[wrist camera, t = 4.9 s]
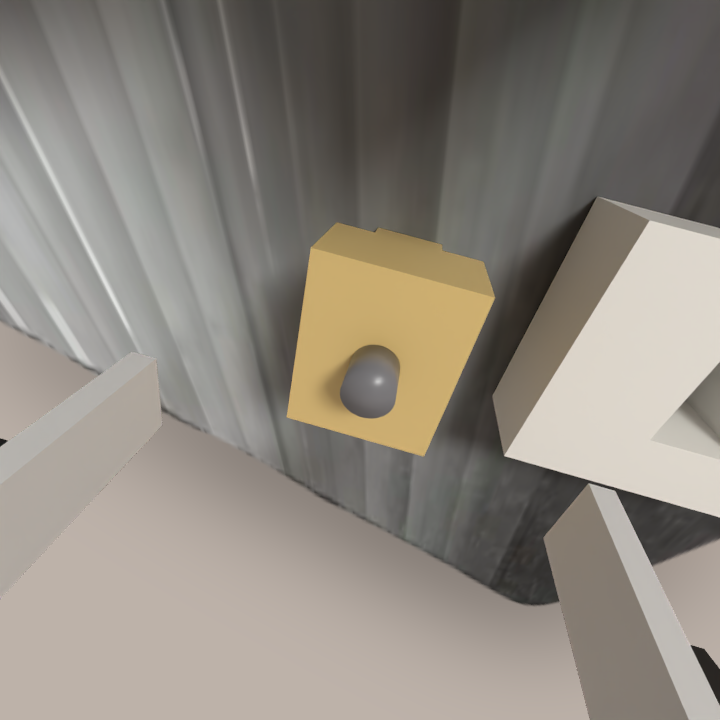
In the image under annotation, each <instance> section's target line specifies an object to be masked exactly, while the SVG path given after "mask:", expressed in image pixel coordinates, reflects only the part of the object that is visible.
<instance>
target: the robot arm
mask: <svg viewBox="0 0 720 720" xmlns="http://www.w3.org/2000/svg"><path fill="white" fill-rule="evenodd" d="M161 427H162V415H161V404H160V394H159V383H158V372H157V362H156V358H153V357H149V356H146V355H142V354H139V353H135V352H131V353H129V354H128V355H127V356H125V357H124V358H123V359H121V360H120V361H118V362H117V363H116V364H114V365H113V366H111V367H110V368H109V369H107V370H106V371H105V372H103V373H102V374H100V375H99V376H98V377H96V378H95V379H93V380H92V381H91V382H89V383H88V384H87V385H85V386H84V387H83V388H81V389H80V390H78V391H77V392H75V393H74V394H73V395H71V396H70V397H69V398H67V399H66V400H65V401H63V402H62V403H60V404H59V405H57V406H56V407H55V408H53V409H52V410H51V411H49V412H48V413H46V414H45V415H44V416H42V417H41V418H40V419H38V420H37V421H35V422H34V423H33V424H32V425H30V426H28V427H27V428H26V429H24V430H23V431H21V432H20V433H19V434H17V435H16V436H15V437H13V438H12V439H11V440H9V441H7V440H4V439H0V599H1V597H2V596H3V595H4V594H5V593H6V592H7V591H8V590H9V589H10V588H11V587H12V586H13V585H14V584H15V583H16V581H17V580H18V579H19V578H20V577H21V576H22V575H23V574H24V573H25V572H26V571H27V570H28V569H29V568H30V567H31V566H32V564H33V563H34V562H35V561H36V560H37V559H38V558H39V557H40V556H41V555H42V554H43V553H44V552H45V551H46V549H47V548H48V547H49V546H50V545H51V544H52V543H53V542H54V541H55V540H56V539H57V538H58V537H59V536H60V535H61V533H62V532H63V531H64V530H65V529H66V528H67V527H68V526H69V525H70V524H71V523H72V522H73V521H74V520H75V518H76V517H77V516H78V515H79V514H80V513H81V512H82V511H83V510H84V509H85V508H86V506H88V505H89V503H90V502H91V501H92V500H93V499H94V498H95V497H96V496H97V495H98V494H99V493H100V492H101V491H102V490H103V489H104V487H105V486H106V485H107V484H108V483H109V482H110V481H111V480H112V479H113V478H114V477H115V476H116V475H117V474H118V472H119V471H120V470H121V469H122V468H123V467H124V466H125V465H126V464H127V463H128V462H129V461H130V460H131V459H132V457H133V456H134V455H135V454H136V453H137V452H138V451H139V450H140V449H141V448H142V447H143V446H144V445H145V444H146V443H147V441H148V440H149V439H150V438H151V437H152V436H153V435H154V434H155V433H156V432H157V431H158V430H159V429H160V428H161ZM544 542H545V546H546V550H547V554H548V558H549V562H550V566H551V570H552V573H553V577H554V581H555V585H556V589H557V593H558V597H559V601H560V605H561V609H562V613H563V616H564V620H565V624H566V628H567V632H568V636H569V639H570V644H571V648H572V651H573V656H574V659H575V663H576V667H577V671H578V675H579V679H580V683H581V687H582V691H583V695H584V698H585V703H586V706H587V710H588V714H589V718H590V720H720V669H719V668H718V666H717V665H716V664H715V663H714V661H713V660H712V659H711V657H710V656H709V655H708V653H707V652H706V651H705V649H702V648H699V647H695V646H692V645H690V644H689V642H688V640H687V637H686V636H685V633H684V632H683V629H682V627H681V625H680V623H679V621H678V619H677V617H676V615H675V613H674V611H673V609H672V607H671V605H670V603H669V601H668V599H667V597H666V595H665V592H664V590H663V588H662V586H661V584H660V582H659V580H658V578H657V576H656V574H655V572H654V570H653V568H652V566H651V564H650V562H649V560H648V557H647V555H646V553H645V551H644V549H643V547H642V545H641V543H640V541H639V539H638V537H637V535H636V533H635V531H634V529H633V527H632V525H631V523H630V521H629V518H628V516H627V514H626V512H625V510H624V508H623V506H622V504H621V502H620V500H619V498H618V496H617V494H616V492H615V491H614V490H610V489H607V488H603V487H600V486H596V485H593V484H588V485H587V486H586V487H585V488H584V490H583V491H582V492H581V493H580V494H579V496H578V497H577V498H576V499H575V500H574V502H573V503H572V504H571V505H570V506H569V508H568V509H567V510H566V511H565V512H564V514H563V515H562V516H561V517H560V518H559V520H558V521H557V522H556V523H555V524H554V526H553V527H552V528H551V529H550V530H549V532H548V533H547V534H546V535H545V536H544Z"/></svg>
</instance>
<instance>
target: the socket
mask: <svg viewBox="0 0 720 720" xmlns="http://www.w3.org/2000/svg"><path fill="white" fill-rule="evenodd" d="M492 398H493V403H494V408H495V413H496V418H497V423H498V428H499V433H500V438H501V443H502V448H503V453H504V456H506V457H509V458H513V459H517V460H520V461H524V462H527V463H531V464H534V465H538V466H541V467H545V468H548V469H552V470H555V471H559V472H562V473H566V474H569V475H573V476H576V477H580V478H583V479H587V480H591V481H594V482H598V483H601V484H605V485H608V486H612V487H615V488H619V489H622V490H626V491H629V492H633V493H636V494H640V495H643V496H647V497H650V498H654V499H657V500H661V501H664V502H668V503H672V504H675V505H679V506H682V507H686V508H689V509H693V510H696V511H700V512H703V513H707V514H710V515H714V516H717V517H720V228H717V227H713V226H709V225H705V224H701V223H697V222H694V221H690V220H686V219H682V218H678V217H674V216H671V215H667V214H663V213H659V212H655V211H651V210H648V209H644V208H640V207H636V206H632V205H628V204H625V203H621V202H617V201H613V200H609V199H605V198H602V197H598V196H597V198H596V200H595V202H594V203H593V205H592V207H591V209H590V211H589V213H588V215H587V217H586V219H585V221H584V222H583V224H582V226H581V228H580V230H579V232H578V234H577V236H576V238H575V240H574V241H573V243H572V245H571V247H570V249H569V251H568V253H567V255H566V257H565V259H564V260H563V262H562V264H561V266H560V268H559V270H558V272H557V274H556V276H555V278H554V280H553V281H552V283H551V285H550V287H549V289H548V291H547V293H546V295H545V297H544V299H543V300H542V302H541V304H540V306H539V308H538V310H537V312H536V314H535V316H534V318H533V319H532V321H531V323H530V325H529V327H528V329H527V331H526V333H525V335H524V337H523V338H522V340H521V342H520V344H519V346H518V348H517V350H516V352H515V354H514V356H513V357H512V359H511V361H510V363H509V365H508V367H507V369H506V371H505V373H504V375H503V376H502V378H501V380H500V382H499V384H498V386H497V388H496V390H495V392H494V394H493V395H492Z"/></svg>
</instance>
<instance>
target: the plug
mask: <svg viewBox="0 0 720 720" xmlns="http://www.w3.org/2000/svg"><path fill="white" fill-rule="evenodd" d="M494 299H495V296H494V293H493V289H492V286H491V283H490V280H489V277H488V274H487V271H486V268H485V265H484V262H483V261H479V260H475V259H471V258H468V257H464V256H460V255H457V254H453V253H449V252H445V251H442V245H441V244H438V243H434V242H430V241H427V240H423V239H419V238H415V237H412V236H408V235H404V234H400V233H397V232H393V231H389V230H386V229H382V228H377V230H376V232H371V231H367V230H364V229H360V228H356V227H352V226H349V225H345V224H341V223H336V224H335V225H334V226H333V227H332V228H331V229H330V230H328V231H327V232H326V233H325V234H324V235H323V236H322V237H321V238H320V239H319V240H318V241H317V242H316V243H315V244H314V245H313V246H312V247H311V251H310V258H309V265H308V272H307V279H306V286H305V293H304V300H303V307H302V314H301V321H300V328H299V335H298V342H297V349H296V356H295V363H294V370H293V377H292V384H291V391H290V398H289V405H288V412H287V418H291V419H294V420H298V421H301V422H305V423H308V424H312V425H315V426H319V427H322V428H326V429H329V430H333V431H336V432H340V433H343V434H347V435H350V436H354V437H357V438H361V439H364V440H368V441H371V442H375V443H378V444H382V445H385V446H389V447H392V448H396V449H399V450H403V451H406V452H410V453H413V454H417V455H420V456H424V455H425V453H426V451H427V449H428V446H429V444H430V442H431V440H432V437H433V435H434V433H435V431H436V429H437V426H438V424H439V422H440V420H441V417H442V415H443V413H444V411H445V408H446V406H447V404H448V402H449V400H450V397H451V395H452V393H453V391H454V388H455V386H456V384H457V382H458V379H459V377H460V375H461V373H462V371H463V368H464V366H465V364H466V362H467V359H468V357H469V355H470V353H471V350H472V348H473V346H474V344H475V342H476V339H477V337H478V335H479V333H480V330H481V328H482V326H483V324H484V321H485V319H486V317H487V315H488V313H489V310H490V308H491V306H492V304H493V301H494Z"/></svg>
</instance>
